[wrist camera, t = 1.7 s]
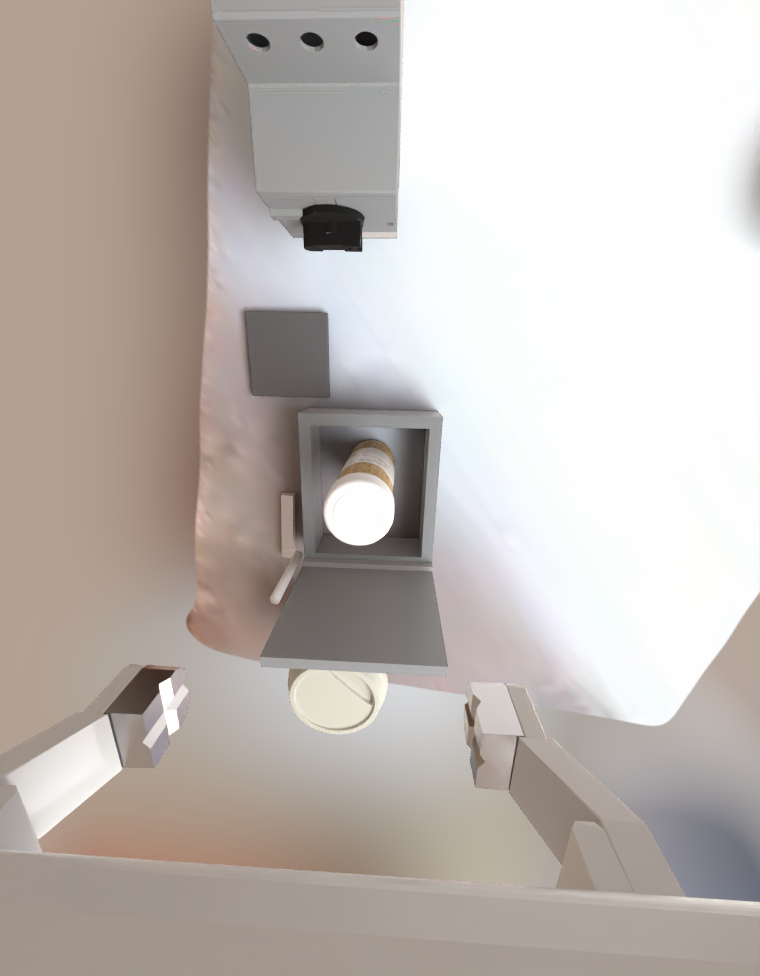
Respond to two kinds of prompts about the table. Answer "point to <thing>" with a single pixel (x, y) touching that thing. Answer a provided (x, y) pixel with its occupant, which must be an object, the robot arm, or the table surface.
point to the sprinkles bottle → (362, 496)
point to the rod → (288, 524)
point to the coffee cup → (336, 698)
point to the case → (361, 573)
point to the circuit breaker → (322, 112)
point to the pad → (288, 354)
